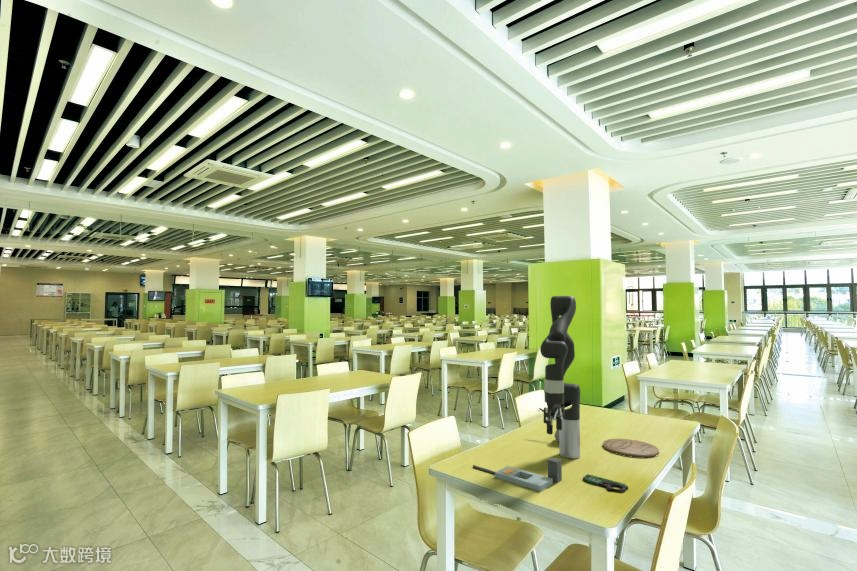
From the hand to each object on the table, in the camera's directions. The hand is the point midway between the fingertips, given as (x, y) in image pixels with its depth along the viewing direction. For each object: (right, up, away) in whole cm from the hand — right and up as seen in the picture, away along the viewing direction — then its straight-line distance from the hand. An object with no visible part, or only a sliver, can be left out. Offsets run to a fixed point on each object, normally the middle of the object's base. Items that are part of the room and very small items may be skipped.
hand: (554, 431), depth 170 cm
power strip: (-18, -19, +2) cm, 26 cm away
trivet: (+49, -23, +39) cm, 67 cm away
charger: (0, -19, -1) cm, 19 cm away
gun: (+18, -20, -5) cm, 27 cm away
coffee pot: (+17, -23, +53) cm, 60 cm away
